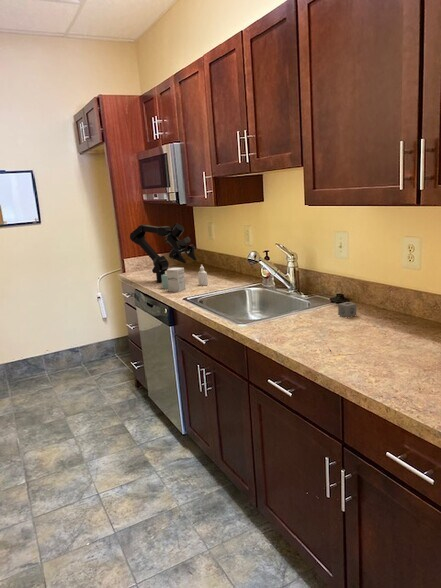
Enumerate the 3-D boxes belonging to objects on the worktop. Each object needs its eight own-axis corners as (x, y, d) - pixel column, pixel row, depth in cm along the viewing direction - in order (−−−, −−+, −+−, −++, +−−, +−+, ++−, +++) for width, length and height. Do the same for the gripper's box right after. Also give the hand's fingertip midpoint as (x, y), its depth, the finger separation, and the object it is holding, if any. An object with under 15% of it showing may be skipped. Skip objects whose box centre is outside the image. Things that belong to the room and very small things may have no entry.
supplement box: (168, 291, 255) (165, 269, 253) (175, 288, 262) (173, 267, 259) (179, 292, 252) (176, 269, 249) (186, 289, 258) (184, 267, 255)
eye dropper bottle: (201, 286, 263) (199, 265, 260) (198, 284, 268) (196, 264, 265) (208, 285, 264) (206, 264, 261) (205, 283, 269) (203, 263, 266)
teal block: (162, 288, 265) (161, 275, 263) (168, 286, 269) (167, 273, 267) (168, 289, 262) (167, 275, 260) (174, 287, 266) (173, 274, 264)
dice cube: (356, 315, 184) (356, 303, 183) (347, 318, 182) (347, 306, 181) (347, 313, 189) (347, 301, 188) (338, 315, 186) (338, 304, 185)
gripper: (170, 235, 260) (186, 254, 256) (191, 231, 274) (207, 249, 270) (161, 248, 266) (177, 268, 262) (182, 244, 281) (198, 262, 277)
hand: (190, 261), depth 268 cm, fingers open, 9 cm apart
